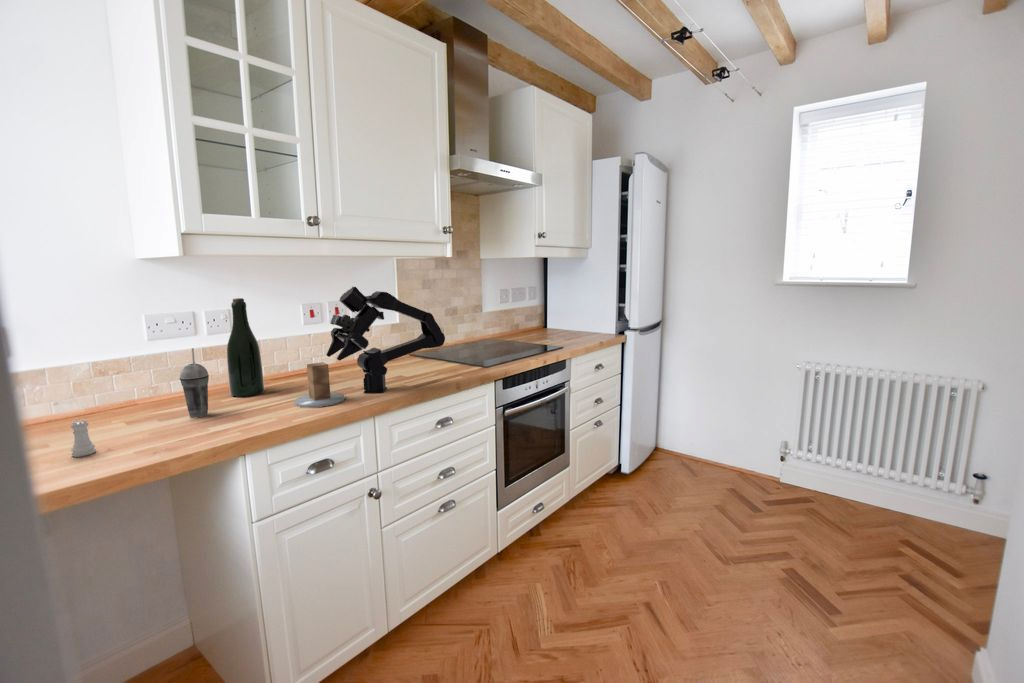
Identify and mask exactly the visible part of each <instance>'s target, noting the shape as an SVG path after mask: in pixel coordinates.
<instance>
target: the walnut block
mask: <svg viewBox="0 0 1024 683" xmlns="http://www.w3.org/2000/svg"><path fill="white" fill-rule="evenodd" d="M306 369H307V370H306V373H307V381H308V382H307V385H308V386H307V387H308V394H309V398H311V399H313V400H314V401H316V400H321V399H327V398H331V396H330V392H331V386H330V372H329V369H330V368H329V364H327V363H326V362H323V361H321V362H314V363H306Z"/></svg>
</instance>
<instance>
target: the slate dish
mask: <svg viewBox="0 0 1024 683" xmlns="http://www.w3.org/2000/svg"><path fill="white" fill-rule="evenodd" d="M330 396H331V398H327V399H321V400H316V401H314V400H313V399H311V398H309V393H307V394H303V395H300V396H298V397H296V398H295V399H294V405H295V406H296V407H297V406H300V407H299V408H302V407H319V408H321V407H320V406H326V407H329V406H328V405H331V406H334V404H335V405H338V404H340V402H341V403H343V402H344V401H345V400H344V399H346V397H345V394H344V393H343V392H338V391H330ZM343 400H344V401H343ZM342 401H343V402H342ZM337 403H338V404H337Z"/></svg>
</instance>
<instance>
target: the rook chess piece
mask: <svg viewBox="0 0 1024 683" xmlns="http://www.w3.org/2000/svg"><path fill="white" fill-rule="evenodd" d="M89 425H90V424H89V422H87V420H86V419H81V421H80V420H79V419H78V420H76V421H75V420H74V421H72V422H71V425H70V428H72V430H73V431H72V434H73V436H74V438H73V439H74V440H73V444H72V448H71V449H70V450H71V451H70V452H72V453H71V454H70V455H71V456H72V457H73V458H82V457H86V456H91V455H92V454H94V453H95V452H96V451H97V448H96V445H95V444H94V443H93V442H92V441H91V439H90V436H89V429H88V426H89Z"/></svg>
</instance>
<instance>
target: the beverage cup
mask: <svg viewBox="0 0 1024 683" xmlns="http://www.w3.org/2000/svg"><path fill="white" fill-rule="evenodd" d="M191 360H192V363H190V364H187V365H186V366H185V365H184V367H183V368H182V369H181V371H180V374H179V380H180V383H181V387H182V390H183V393H184V398H185V403H186V407H187V411H188V415H189V418H191V417H198V418H201V417H200V416H203V417H205V416H204V415H206V416H208V415H207V414H209V413H208V412H209V385H208V384H209V381H210V380H209V379H210V378H209V377H210V375H209V372H208V370H207V368H206V367H205V366H204V365H202V364H200V363H195V350H194V348H191Z"/></svg>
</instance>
